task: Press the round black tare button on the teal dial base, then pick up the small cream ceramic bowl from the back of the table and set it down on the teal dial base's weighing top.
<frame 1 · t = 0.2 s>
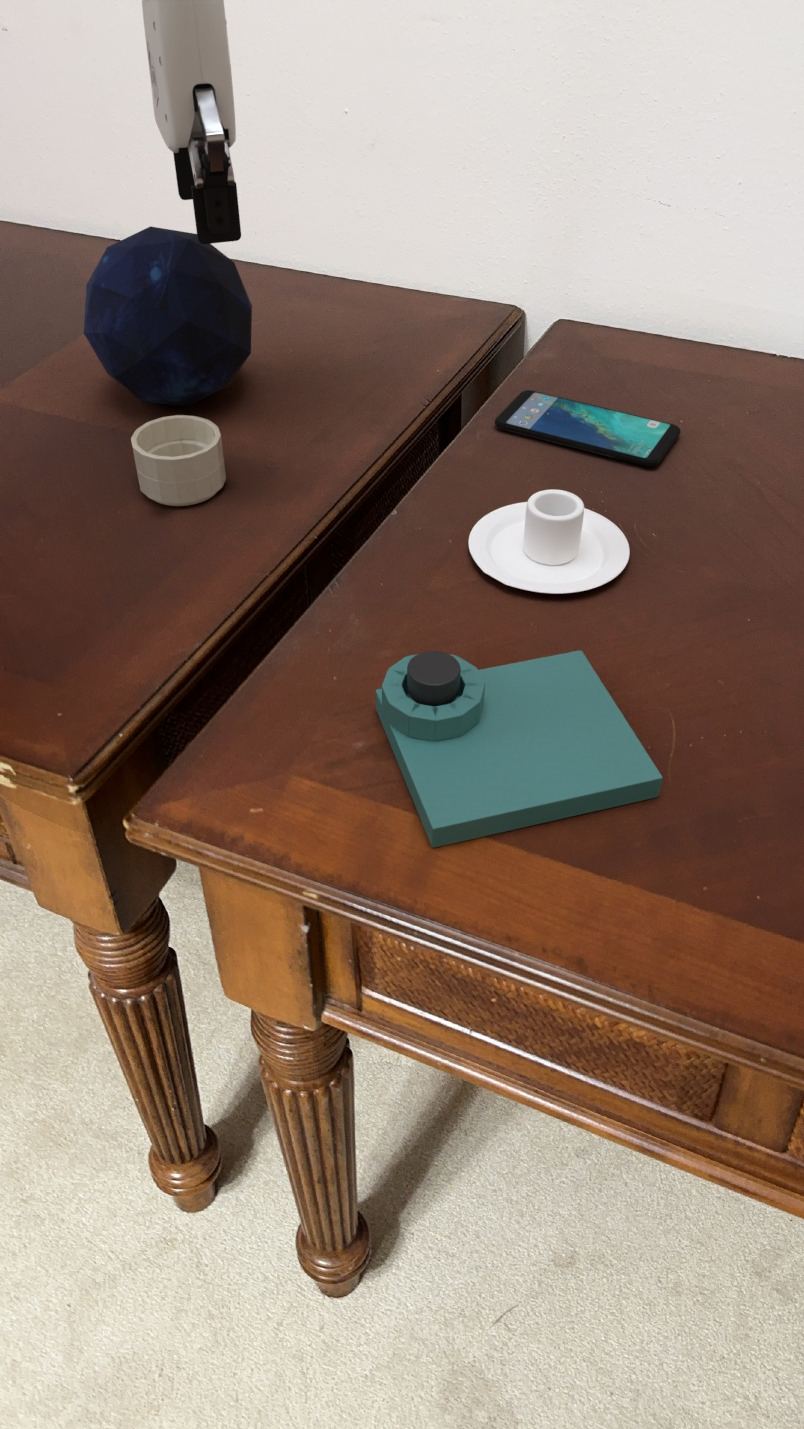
hand: (209, 218, 86), 17 cm above the table, tool pointing down, fingers open, 9 cm apart
decorative orb: (180, 395, 101), on the table
bowl: (183, 486, 90), on the table
smartphone: (586, 433, 96), on the table
tare button: (433, 678, 66), point 4 cm above the table, slide at 0.1 cm
candle holder: (547, 555, 83), on the table
teal dial base: (511, 751, 68), on the table
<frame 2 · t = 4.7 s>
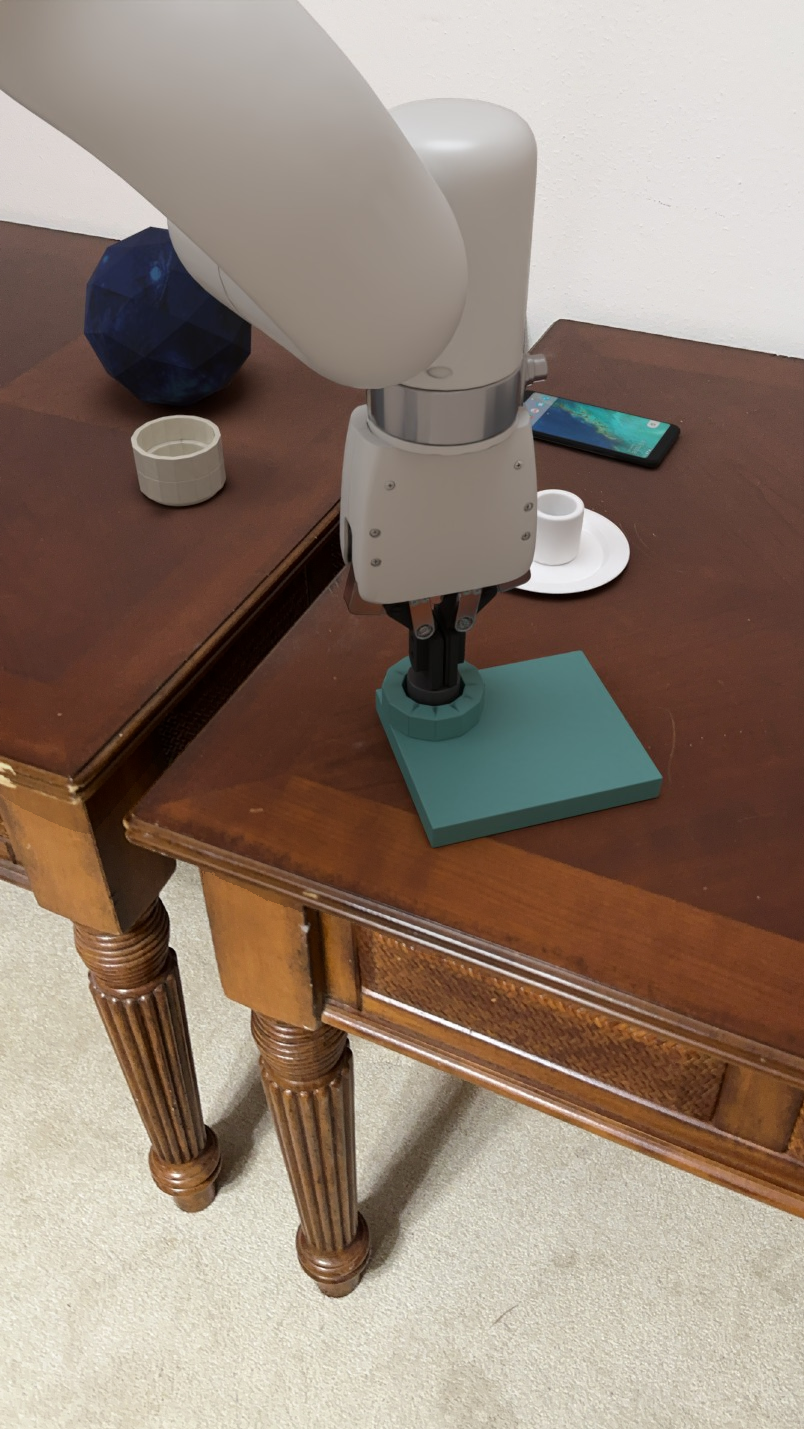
hand: (436, 672, 66), 4 cm above the table, tool pointing down, fingers closed
tare button: (433, 685, 67), point 3 cm above the table, slide at -0.4 cm, touching gripper
everything else where it was.
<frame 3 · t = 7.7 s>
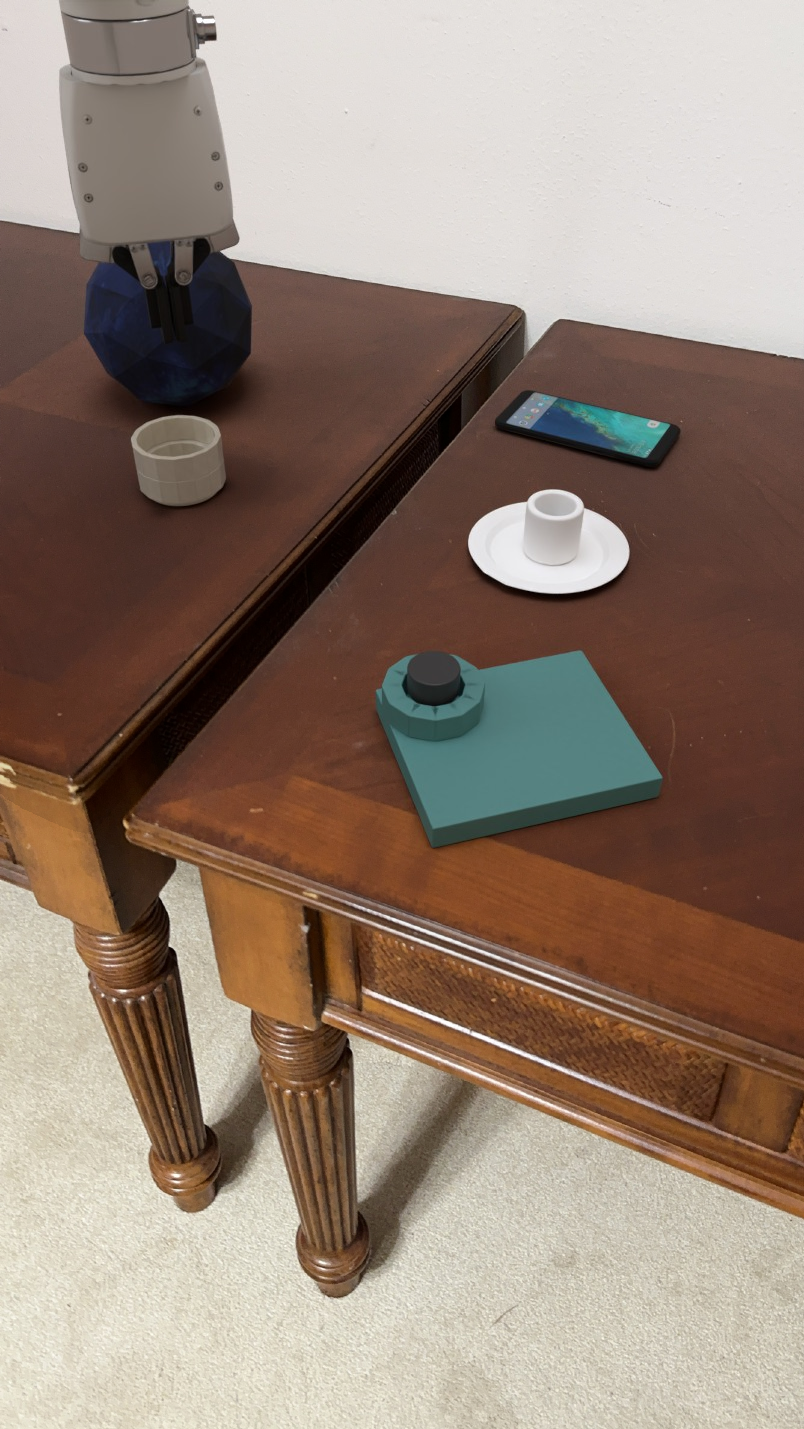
hand: (173, 334, 79), 14 cm above the table, tool pointing down, fingers closed
tare button: (433, 678, 66), point 4 cm above the table, slide at 0.1 cm
everything else where it was.
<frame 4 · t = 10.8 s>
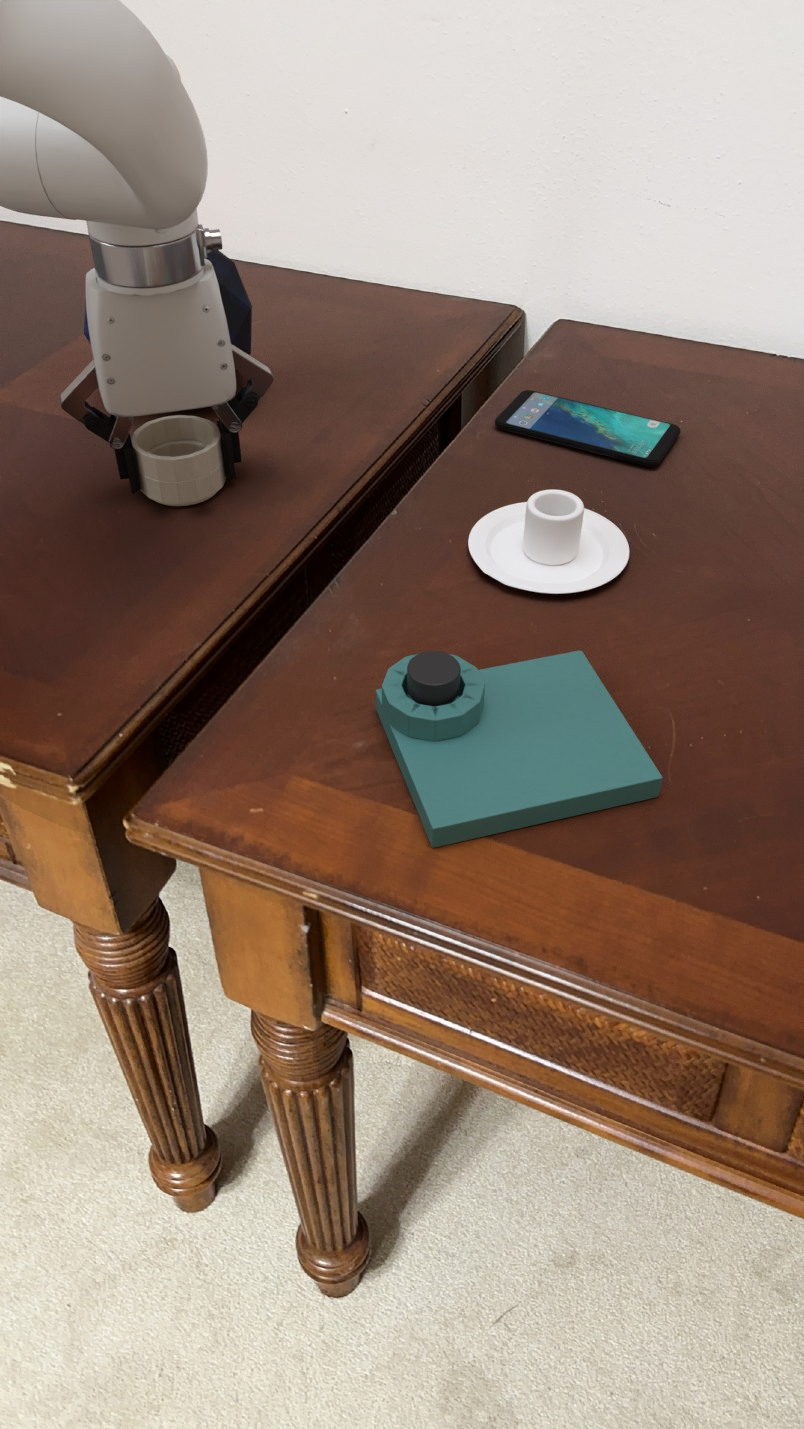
hand: (181, 475, 89), 1 cm above the table, tool pointing down, fingers closed on bowl, 7 cm apart
bowl: (183, 486, 90), on the table, touching gripper
everything else where it was.
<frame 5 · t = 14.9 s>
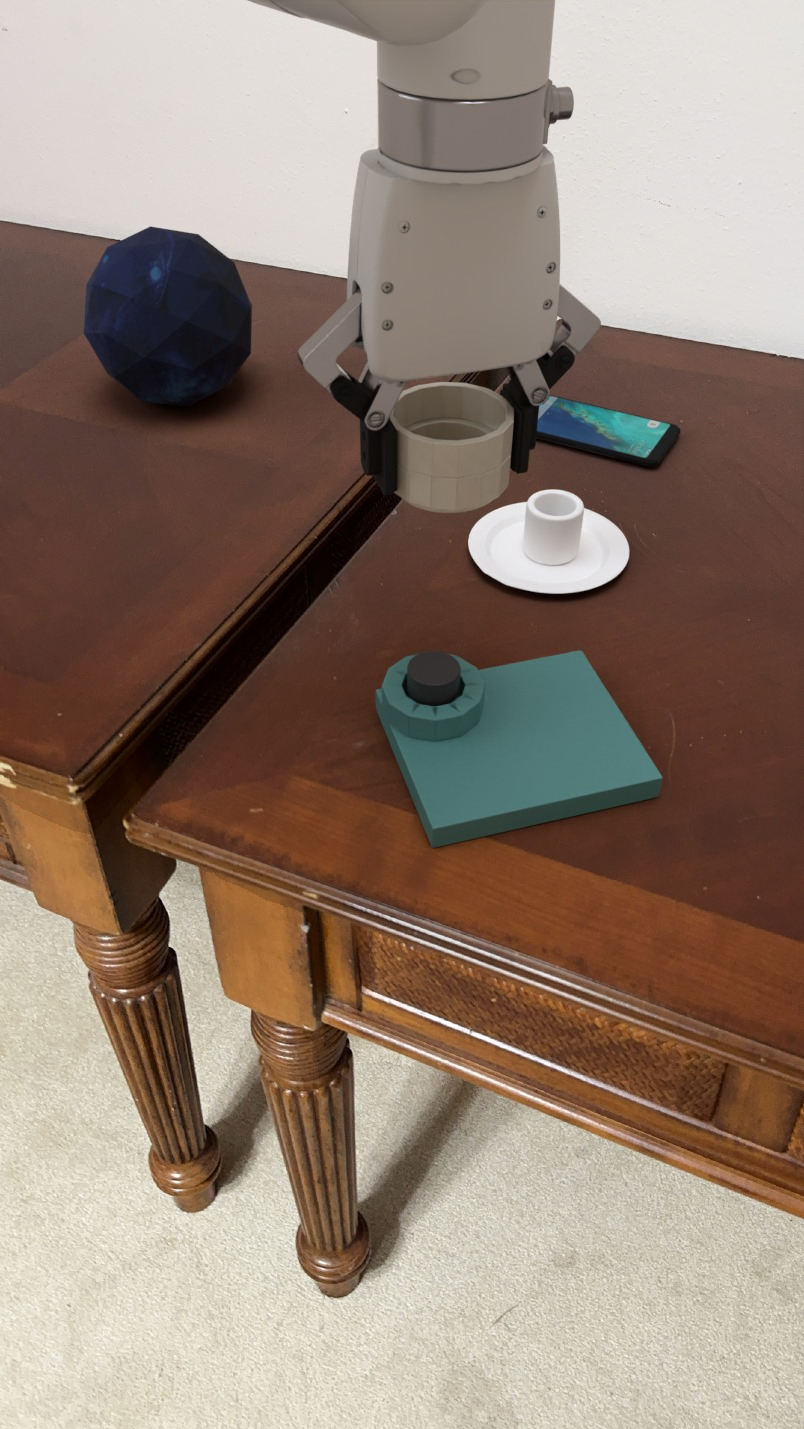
hand: (448, 469, 62), 16 cm above the table, tool pointing down, fingers closed on bowl, 7 cm apart
bowl: (447, 484, 62), point 15 cm above the table, touching gripper
everything else where it was.
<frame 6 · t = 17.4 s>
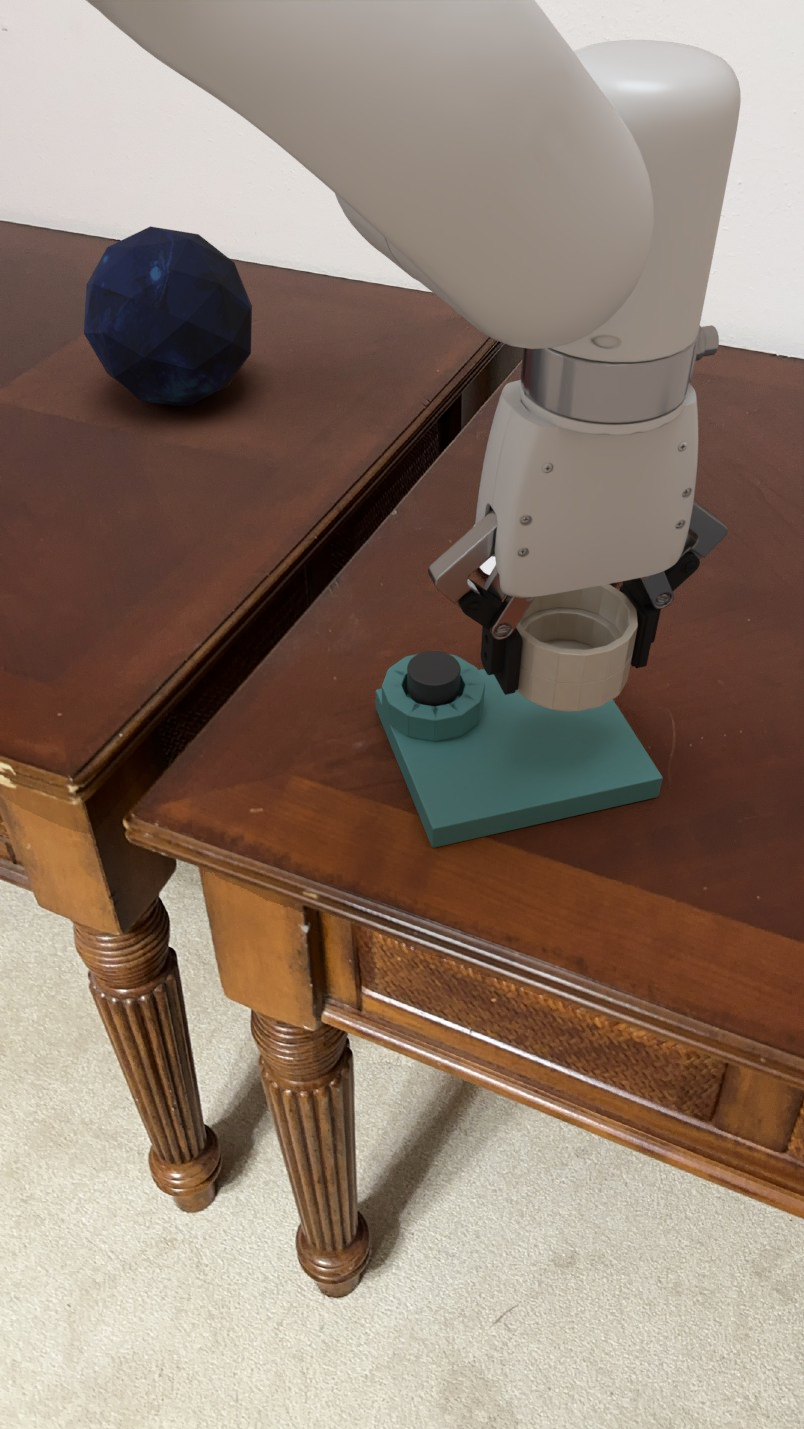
hand: (566, 663, 62), 8 cm above the table, tool pointing down, fingers closed on bowl, 7 cm apart
bowl: (564, 675, 62), point 7 cm above the table, touching gripper
everything else where it was.
when the fingers open (3 cm above the table, at t = 19.3 s): bowl stays where it is, resting on teal dial base.
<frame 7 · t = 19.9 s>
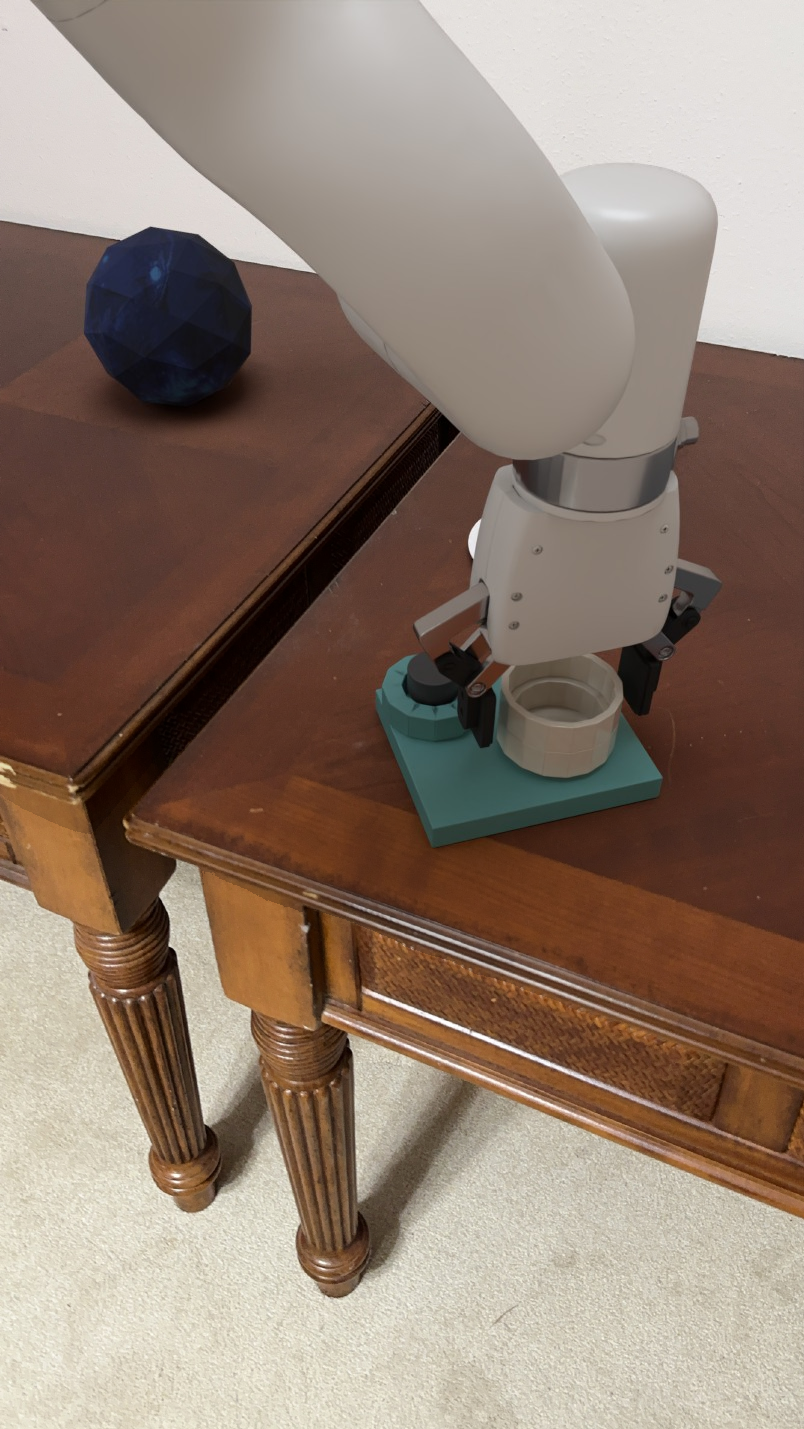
hand: (555, 715, 64), 4 cm above the table, tool pointing down, fingers open, 9 cm apart
bowl: (554, 741, 66), point 2 cm above the table, touching teal dial base
everything else where it was.
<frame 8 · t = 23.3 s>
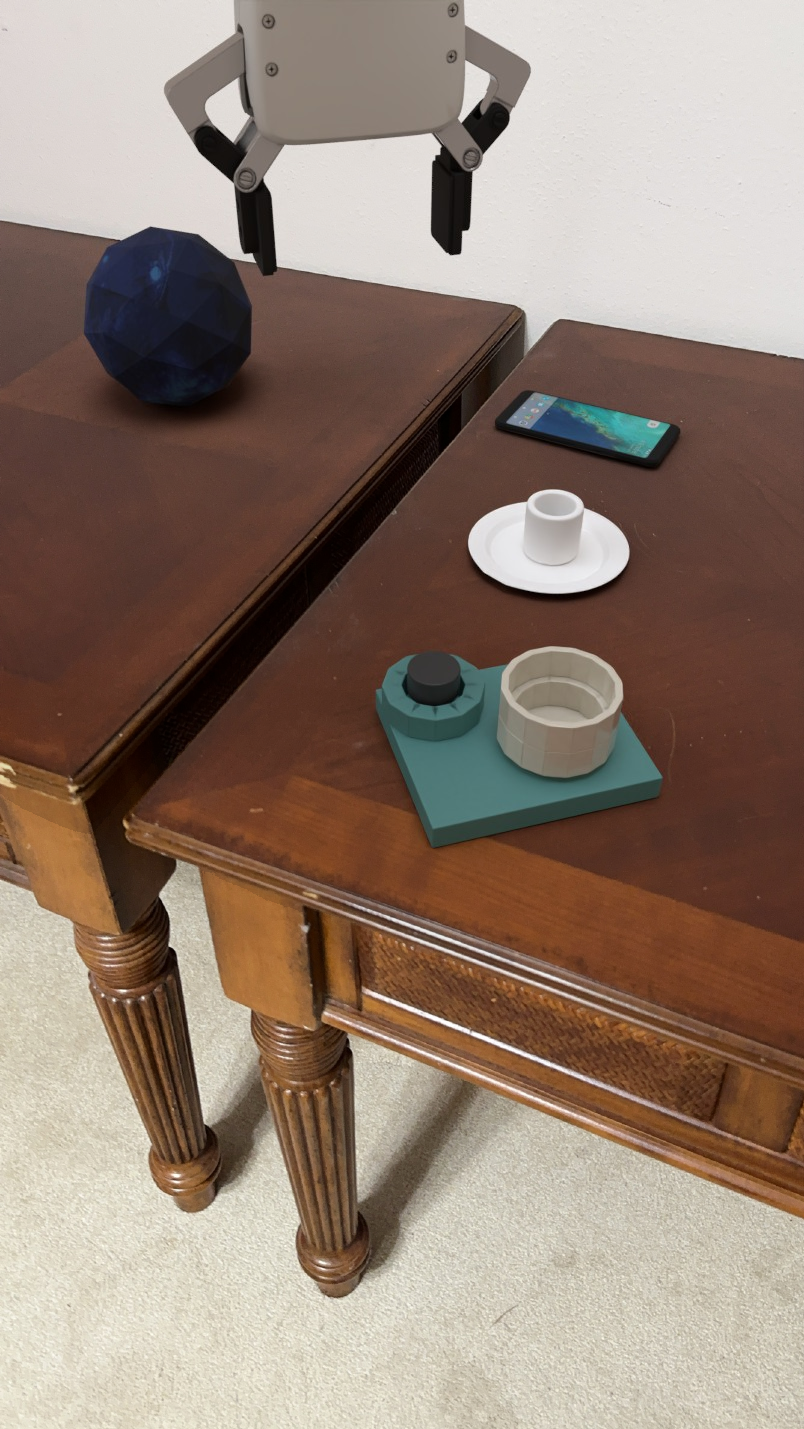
hand: (356, 255, 57), 26 cm above the table, tool pointing down, fingers open, 9 cm apart
nothing on the table moved.
at the end: tare button pushed in 1.1 cm at the most during the clip, back to where it started at the end; bowl inside the target area on the teal dial base (2.1 cm from its centre), point 1.7 cm above the teal dial base's base; bowl touching teal dial base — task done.
